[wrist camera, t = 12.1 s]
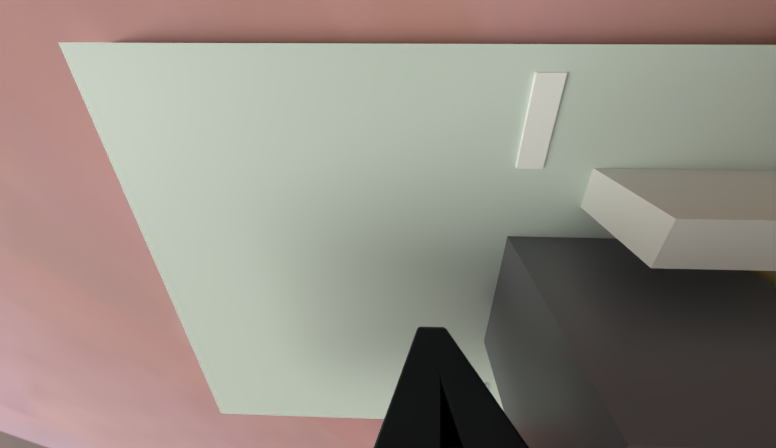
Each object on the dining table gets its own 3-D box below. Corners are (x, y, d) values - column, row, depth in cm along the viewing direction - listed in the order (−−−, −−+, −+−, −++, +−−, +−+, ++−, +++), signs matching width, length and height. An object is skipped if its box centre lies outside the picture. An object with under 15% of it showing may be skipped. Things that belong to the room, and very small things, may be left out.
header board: (234, 385, 14) (170, 516, 10) (106, 43, 7) (-207, 37, 4) (630, 398, 13) (724, 540, 9) (851, 45, 7) (1401, 41, 3)
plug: (507, 236, 8) (629, 445, 4) (701, 240, 8) (1050, 460, 4) (483, 341, 10) (547, 559, 6) (640, 346, 10) (824, 572, 6)
